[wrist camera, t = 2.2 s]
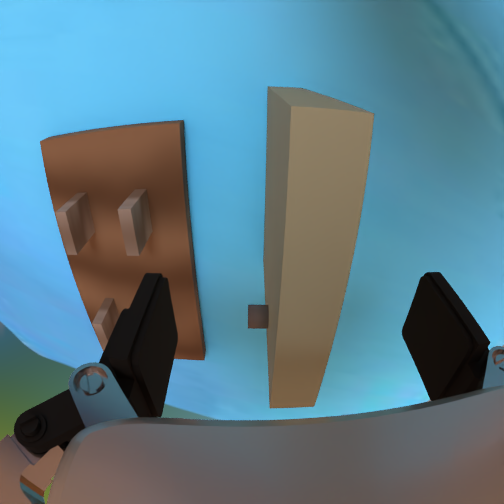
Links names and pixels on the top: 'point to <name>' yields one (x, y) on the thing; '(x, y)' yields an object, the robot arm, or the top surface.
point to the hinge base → (126, 221)
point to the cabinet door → (308, 233)
